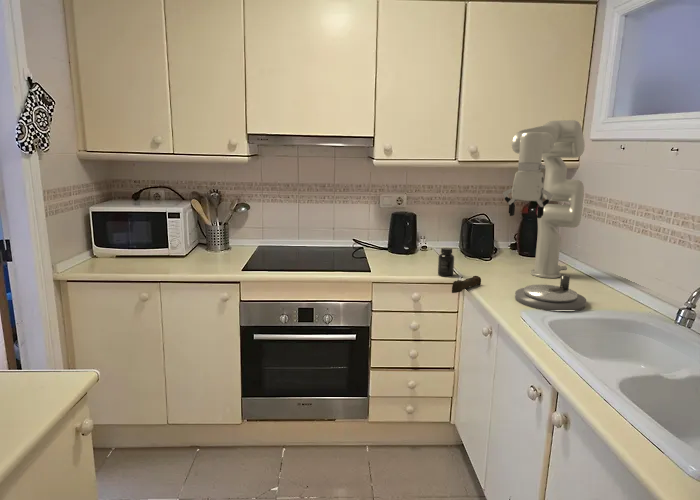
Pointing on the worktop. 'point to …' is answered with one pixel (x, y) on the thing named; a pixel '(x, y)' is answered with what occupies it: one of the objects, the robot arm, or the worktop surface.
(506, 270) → the worktop surface
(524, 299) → the dial base
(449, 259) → the supplement bottle
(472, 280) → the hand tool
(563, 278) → the dial
